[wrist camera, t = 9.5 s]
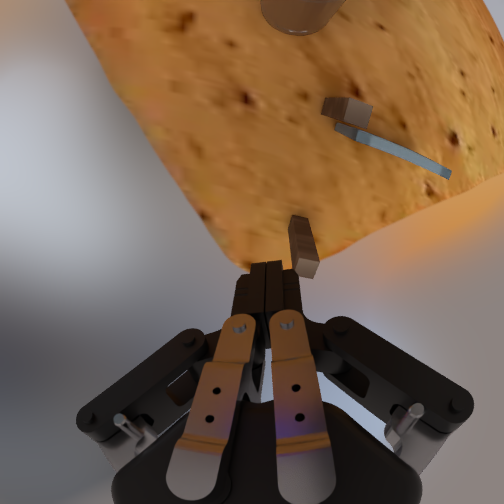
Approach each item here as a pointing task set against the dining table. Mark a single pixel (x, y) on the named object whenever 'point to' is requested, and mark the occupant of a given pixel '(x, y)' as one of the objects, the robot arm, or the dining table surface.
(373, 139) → the gate leaf
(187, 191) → the dining table surface
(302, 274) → the gate posts
